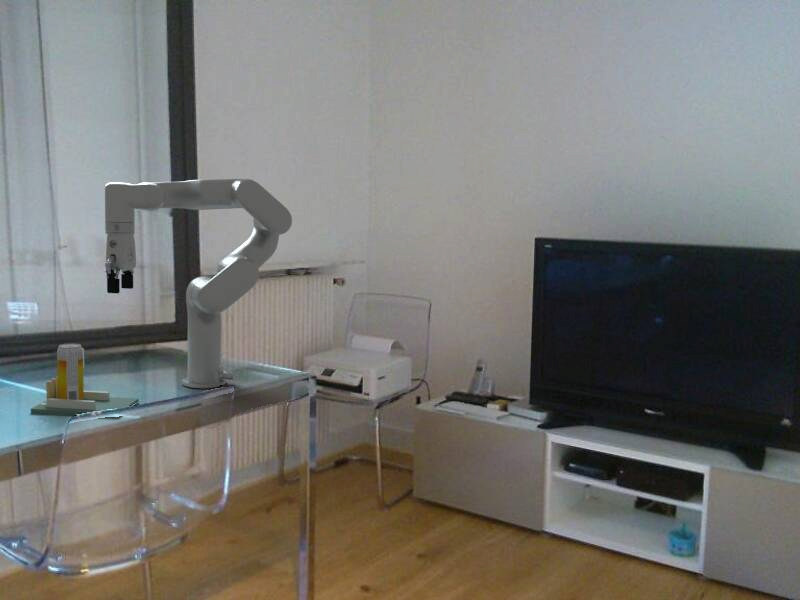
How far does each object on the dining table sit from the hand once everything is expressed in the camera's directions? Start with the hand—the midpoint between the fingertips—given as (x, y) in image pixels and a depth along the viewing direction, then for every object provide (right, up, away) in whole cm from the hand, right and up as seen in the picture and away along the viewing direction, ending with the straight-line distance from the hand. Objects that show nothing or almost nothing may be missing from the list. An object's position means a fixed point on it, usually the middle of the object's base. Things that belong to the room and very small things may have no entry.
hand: (120, 290), depth 216 cm
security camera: (-17, -27, +9) cm, 33 cm away
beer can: (-8, -29, -13) cm, 33 cm away
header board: (-4, -30, -14) cm, 34 cm away
